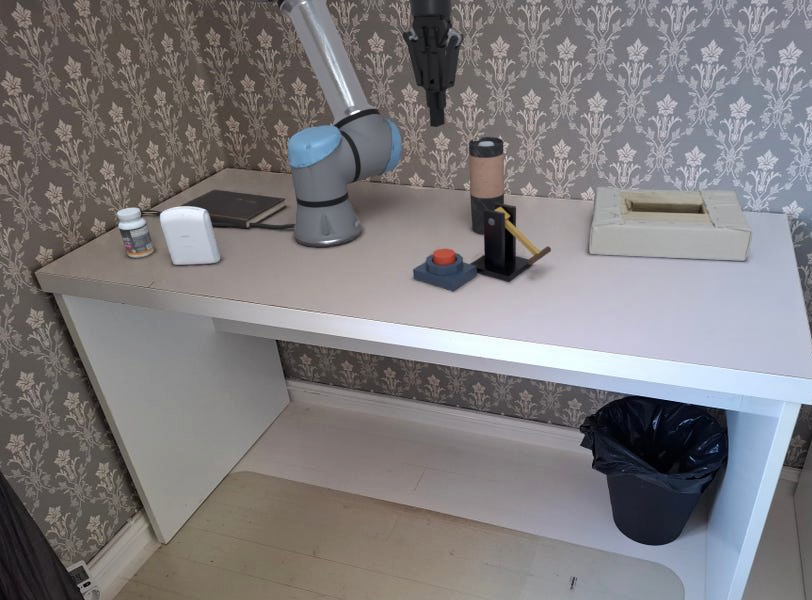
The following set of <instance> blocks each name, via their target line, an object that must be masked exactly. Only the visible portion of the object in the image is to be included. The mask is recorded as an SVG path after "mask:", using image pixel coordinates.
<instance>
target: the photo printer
mask: <svg viewBox="0 0 812 600" xmlns="http://www.w3.org/2000/svg"><path fill="white" fill-rule="evenodd" d="M179 206H180V207H179ZM179 206H175V207H170V208H167V209H165V210H162V211H161V212H162V213H161V214H160V215H159V221H160V225H161V229H162V232H163V236H164V239H165V243H166V245H167V249H168V252H169V256H170V258H171V261H172V264H173V265H174V266H175V265H176V266H177V265H180V266H181V265H182V266H185V265H205V264H217V263H218V262H220V260H221V253H220V250H219V246H218V242H217V238H216V234H215V231H214V226H212V223H211V219H210V216H209V213H208V211H207V210H205V209H202V208H198V207H191V206H181V205H179Z"/></svg>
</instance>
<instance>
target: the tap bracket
mask: <svg viewBox="0 0 812 600" xmlns="http://www.w3.org/2000/svg"><path fill="white" fill-rule="evenodd" d="M499 207H502V208H503V209H504V210H505V211H506V212H507V213H508V214H509V215H510V218H509V219H508V220H509V221H510V222H511V223H512V224H513V225H514V226H515V227H516V228H517V206H515V205H510V204H506V203H504V204H502V203H496V204H495V209H497V208H499ZM483 247H484V249H483V252H484V253H483V255H482V256H480V257H479V258H477V259H475V260H473V261H472V262H471V263H470V264H471V265H475V266H477V274H479V275H482V276H483V275H484V276H487V277H490V278H493V279H497V280H501V281H503V282H508V283H509V282H511V281H513V280H514V279H516V278H517V277H518V276H519V275H521V274H523V273H524V272H525V271H526V270H528V269H529V268H531V267H532V266H533V264H532V265H529V264H528V259H529V258H525V257H522V256H517V248H516V247H517V238H516V237H515V236H514V235H513V234H511V233H510V232H509V231H508V230H507V229H506V228H505V213H502V212H498V211H493V210H489V209H485V210H484V234H483Z"/></svg>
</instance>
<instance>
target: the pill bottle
mask: <svg viewBox="0 0 812 600" xmlns="http://www.w3.org/2000/svg"><path fill="white" fill-rule="evenodd" d="M116 215H117V218H118V220H119V223H118V225H117V226H118V230H119V233H120V236H121V239H122V243H123V245H124V248H125V252H126V254H127V256H128V257H130V258H135V259H137V258H144V257H148V256H149V255H151V254H152V253H154V251H155V247H154V244H153V240H152V237H151V234H150V230H149V228H148V224H147V221H146V220H145V218H144V217H142V216H141V210H140V208H138V207H127V208H126V207H125V208H123V209H120V210H118V211H117V212H116Z"/></svg>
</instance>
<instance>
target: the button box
mask: <svg viewBox="0 0 812 600" xmlns="http://www.w3.org/2000/svg"><path fill="white" fill-rule="evenodd" d="M412 273H413V275H412V276H413V279H414V281H415V280H416V281H418V282H422V283H425V284H428V285H432V286H435V287H439V288H442V289H445V290H448V291H451V292H454V291H456V290H458V289H459V288H461V287H462V286H464V285H465V284H467V283H468V282H470V281H471V280H473V279H475V278H476V277H477V276H478V273H477V266H475V265H471V263H467V262H464V257H463V256H462V255H461V254H460V253H457V252H455V262H454V263H452V264H447V265H439V264H435V263H434V262H433V253H431V254H430V255H428V256H426V258H425V261H424V262H423V263H421V264H420V265H418V266H416V267H414V268H413V269H412Z"/></svg>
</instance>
